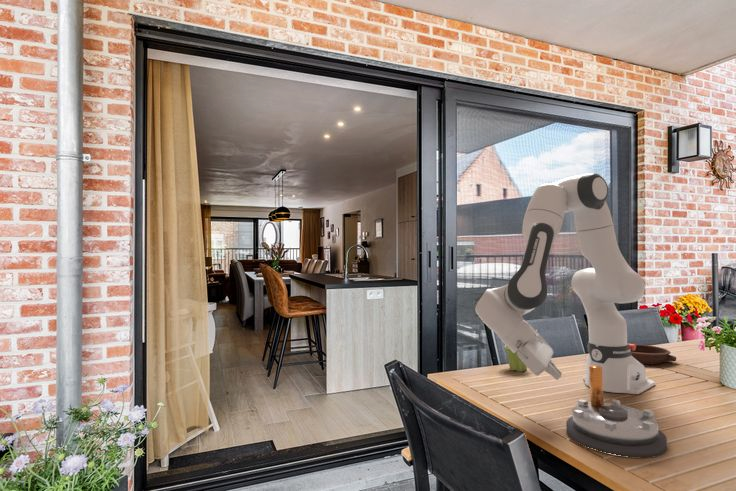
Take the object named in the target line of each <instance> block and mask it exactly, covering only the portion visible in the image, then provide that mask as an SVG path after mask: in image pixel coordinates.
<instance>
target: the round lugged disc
mask: <svg viewBox="0 0 736 491" xmlns="http://www.w3.org/2000/svg"><path fill="white" fill-rule="evenodd" d="M589 376H590V387H589V398H590V400H589V401H590V402H588V400H585V399H578V400H577V405H575V406H574V407H573V408H572V409H571V410H572V411H571V412H572V416H573V425H574V427H575V428H576V429H577V430H578V431H580V432H581V433H583V434H585V435H587V436H589V437H592V438H594V439H598V440H601V441H605V442H609V443H614V444H621V445H646V444H651V443H653V442H655V441H657V440H658V438H659V432H658V429H659V422H658V420H657V419H656V417H654V415H655V414H654V412H655V411H653V410H651V409H648V408H647V409H643V410H640V409H637V408H634V407H631V406H627V405H623V404H621V400H619V399H616V398H613V399H610V400H609V401H610V402H609V403H608V402H604V391H603V375H602V367H601V366H596V365H591V366H589ZM572 416H571V417H572Z"/></svg>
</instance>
